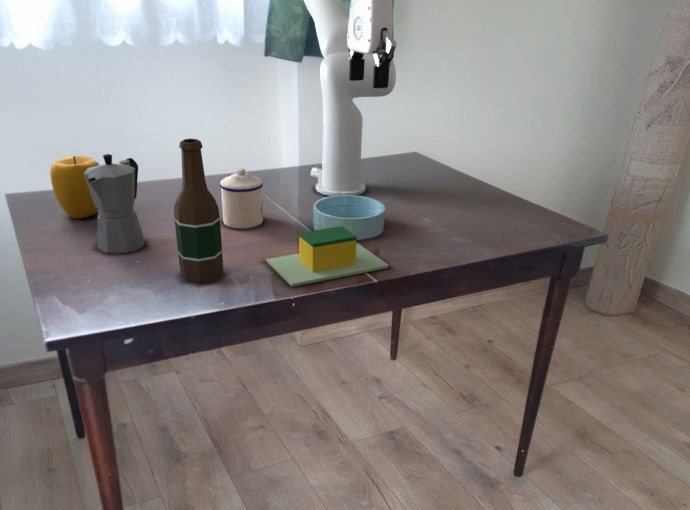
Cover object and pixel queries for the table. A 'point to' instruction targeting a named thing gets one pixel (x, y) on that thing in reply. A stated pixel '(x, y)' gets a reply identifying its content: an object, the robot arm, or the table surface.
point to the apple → (73, 186)
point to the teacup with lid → (242, 200)
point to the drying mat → (300, 274)
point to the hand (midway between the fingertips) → (368, 84)
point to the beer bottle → (197, 220)
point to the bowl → (350, 215)
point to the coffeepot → (115, 205)
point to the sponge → (327, 248)
